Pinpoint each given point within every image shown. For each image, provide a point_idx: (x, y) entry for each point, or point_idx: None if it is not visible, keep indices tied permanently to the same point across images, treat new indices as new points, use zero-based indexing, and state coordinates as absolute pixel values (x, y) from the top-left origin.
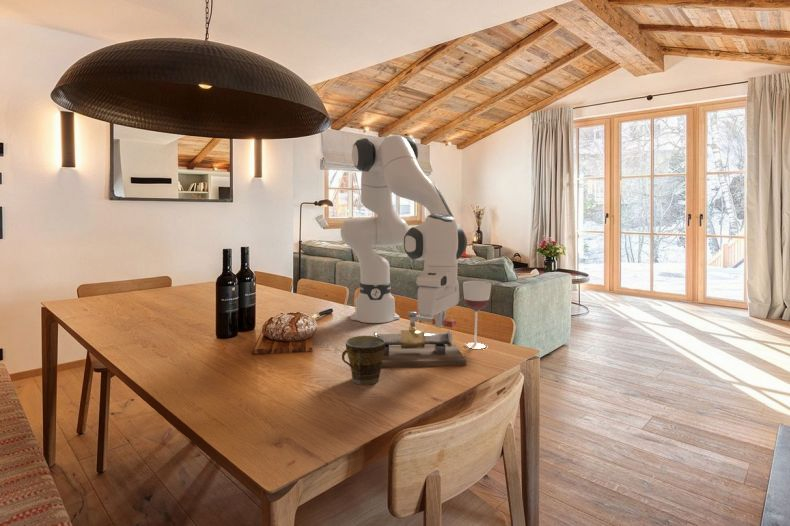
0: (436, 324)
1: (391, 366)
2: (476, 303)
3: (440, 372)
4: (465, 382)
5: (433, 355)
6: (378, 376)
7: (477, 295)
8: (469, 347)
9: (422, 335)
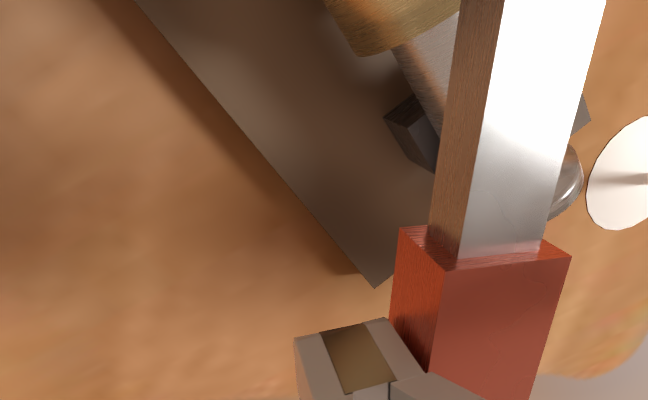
0: (302, 369)
1: None
2: None
3: (193, 230)
4: (153, 379)
5: (357, 106)
6: None
7: None
8: (607, 166)
9: (389, 23)
